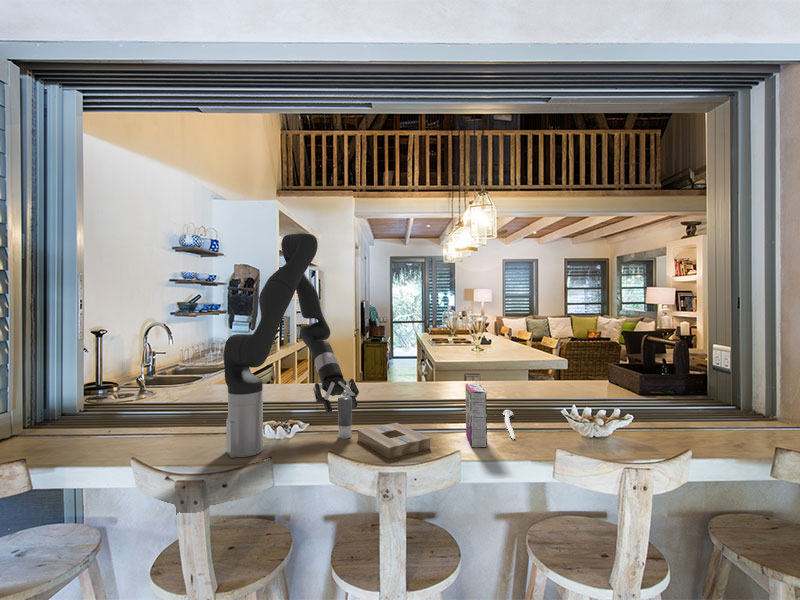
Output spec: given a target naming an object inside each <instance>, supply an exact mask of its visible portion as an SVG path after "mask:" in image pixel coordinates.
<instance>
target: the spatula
mask: <svg viewBox="0 0 800 600" xmlns="http://www.w3.org/2000/svg"><path fill="white" fill-rule="evenodd" d="M502 414H503V415H505V417H504V425H505V424H506V426H507V428H506V430H507V429H508V430H507V432H508V431H509V433H510V435H509V437H510V436H511V438H512V439H515V440H516V435H515V433H514V429H513V427H512V424H511V420H510V419H511V418H509V417H510V416H512V415H513V416H514V415H515V414H514V412H513V411H512V410H510V409H505V410H503V412H502ZM513 416H512V417H513ZM506 426H505V427H506ZM509 433H508V434H509ZM511 438H510V439H511Z"/></svg>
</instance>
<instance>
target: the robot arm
mask: <svg viewBox="0 0 800 600" xmlns="http://www.w3.org/2000/svg"><path fill="white" fill-rule="evenodd" d="M280 245H281V252H282V256H283V258H284V262H285V264H284V265H282V266H281V267H280V268H278V269H277V270H276V271H275V272H273V274H271V275H270V277H268V279H267V281H266V282H265V284H264V286H263V287H262V290H261V291H260V294H259V297H258V304H259V305H258V306H259V310H260V321H259V323H258V325H257V326H256V329H255V330H254V332H253V333H252V334H249V333H248V334H246V333H245V334H243V333H239V334H237V333H236V334H232V335H230V336H229V337H228V338H227V339H226V342H225V344H224V347H223V348H224V349H223V367H224V368H223V370H224V382H225V384H226V386H227V418H226V421H225V422H226V424H225V425H226V432H225V433H226V453H227V455H228V456H229V458H231V459H232V458H246V457H251V456H255V455H258V454H260V453H261V452H262V451H264V435H263V434H264V430H263V429H264V421H263V420H264V419H263V417H264V415H263V414H264V411H263V409H264V407H263V406H264V405H263V404H264V402H263V401H264V397H263V393H264V392H263V391H264V389H263V388H264V387H263V386H264V384H263V383H264V382H263V380H262V379H261V378H260V377H258V376H256V375H255V374H254V373H252V371H251V369H250V368H259V367H261V366H262V365H264V364H265V362H266V361H267V359H268V356H269V354H270V353H271V349H272V347H273V343H274V341H275V339H276V335H277V333H278V330H279V327H280V325H281V322H282V320H283V317H284V316H285V313H286V311H287V310H288V307H289V306H290V304H291V301H292V299H293V297H294V295H295V293H296V294H297V299H298V303H299V308H300V313H301V317H302V318H304V319H308V320H309V319H310V320H311V319H313V320H314V319H315V320H317V321H316V322H313V323H308V324H304V325H303V326H302V327H301V328H300V331H299V335H300V338H301V340H302V342H303V343H304V344H305V346H306V347H307V348H308V350H309V351H310V353H311V354H312V357H313V361H314V364H315V369H316V372H317V375H318V377H319V381H320V383H315V384H314V386H313V388H312V389H313V393H314V397H315V401H316V403H318V404H322V405H323V407H324V410H325V411H326V413H327V414H332V411H333V407H332V405H331V401H330V399H329V398H330V396H331V397H335V396H341V395H342V397H351V398H352V411H353V410H356V409H357V407H358V401H357V399H356V398H358V395H359V393H360V391H359V388H358V386H357V384H356V381H355V379H353V378H350V380H345V379H344V375H343V373H342V369H341V367H340V364H339V362H338V359H337V357H336V356H335V352H334V351H333V348H332V345H331V343H330V342H328V341H326V340H328V339H329V338H330V336H331V328H330V326H329V324H328V323H327V320H326V319H325V316H324V314H323V312H322V308H321V301H320V298H319V297H320V296H319V293H318V291H317V289H316V287H315V286H314V284H313V283H312V281H310V279H309V278H308V277H307V275H306V271H307V270H308V268H309V267H310V265H311V264H312V262H313V260H314V259H315V257H316V255H317V251H318V240H317V237H316V236H315V235H314V234H313V233H311V232H297V233H296V232H295V233H291V234H290V233H289V234H285V235H284V236H283V237H282V239H281V244H280ZM321 390H323V391H324V392H325V395H324V396H323V395H322V392H321Z"/></svg>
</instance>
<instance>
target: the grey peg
mask: <svg viewBox="0 0 800 600" xmlns="http://www.w3.org/2000/svg"><path fill="white" fill-rule="evenodd" d="M352 424H353V408H352V398H351V397H344V396H341V397H338V398H337V425H338V438H339V439H341V440H345V439H346V440H347V439H350V438H352Z"/></svg>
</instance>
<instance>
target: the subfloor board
mask: <svg viewBox="0 0 800 600" xmlns="http://www.w3.org/2000/svg"><path fill="white" fill-rule="evenodd" d="M357 441H359V442H361V443H362V444H364V445H365V446H366V447H369V448H370V449H372V450H373V451H375V452H376V453H378V454H380V455H382V456H383V457H385V458H387V459H388V460H390V459H394V458H399V457H402V456H406V455H410V454H414V453H418V452H422V451H425V450H429V449H431V437H429V436H426V435H424V434H422V433H420V432H418V431H416V430H414V429H412V428H409V427H407V426H405V425H402V424H401V423H398V422H393V423H392V422H391V423H388V424H382V425H377V426H372V427H368V428H363V429H358V430H357Z"/></svg>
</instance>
